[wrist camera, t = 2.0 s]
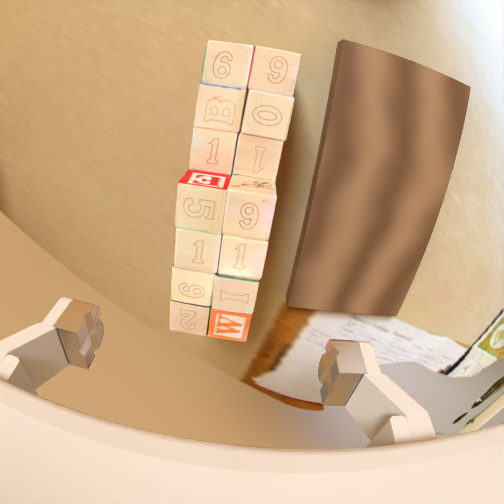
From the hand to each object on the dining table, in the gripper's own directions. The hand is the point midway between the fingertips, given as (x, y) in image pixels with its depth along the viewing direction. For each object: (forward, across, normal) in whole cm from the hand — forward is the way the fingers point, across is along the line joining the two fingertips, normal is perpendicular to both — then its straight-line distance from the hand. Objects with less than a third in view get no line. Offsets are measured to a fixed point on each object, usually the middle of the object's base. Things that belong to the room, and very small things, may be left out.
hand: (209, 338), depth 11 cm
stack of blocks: (+23, +1, 0) cm, 23 cm away
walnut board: (+22, -14, 0) cm, 26 cm away
